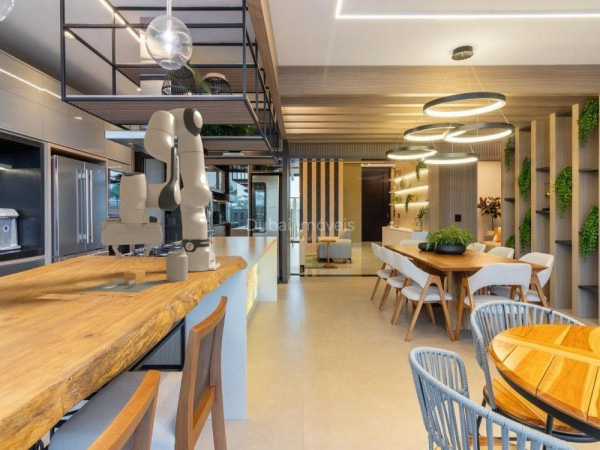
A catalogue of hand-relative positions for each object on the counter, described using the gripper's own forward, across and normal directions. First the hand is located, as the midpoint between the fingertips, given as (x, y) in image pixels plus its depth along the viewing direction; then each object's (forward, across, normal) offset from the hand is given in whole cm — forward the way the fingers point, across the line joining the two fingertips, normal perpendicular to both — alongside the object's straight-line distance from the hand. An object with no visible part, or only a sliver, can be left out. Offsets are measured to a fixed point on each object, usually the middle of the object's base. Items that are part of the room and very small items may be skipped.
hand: (132, 257), depth 137 cm
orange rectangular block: (+9, +1, 0) cm, 9 cm away
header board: (+11, -3, -3) cm, 12 cm away
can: (+10, +14, -5) cm, 19 cm away
